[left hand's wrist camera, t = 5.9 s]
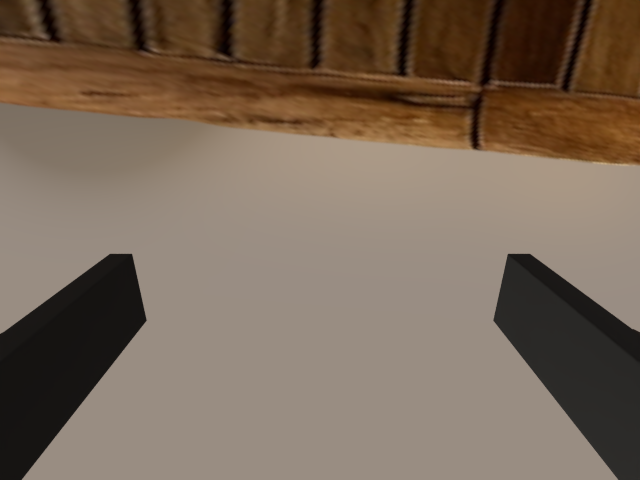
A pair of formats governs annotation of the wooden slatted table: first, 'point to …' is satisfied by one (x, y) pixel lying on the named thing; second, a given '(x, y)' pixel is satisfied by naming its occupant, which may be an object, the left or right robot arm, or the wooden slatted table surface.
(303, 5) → the wooden slatted table surface
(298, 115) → the wooden slatted table surface
